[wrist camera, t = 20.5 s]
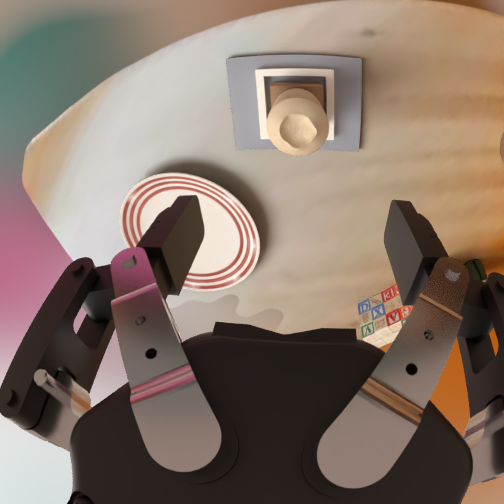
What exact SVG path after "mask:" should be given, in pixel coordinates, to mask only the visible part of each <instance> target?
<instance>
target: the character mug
mask: <svg viewBox="0 0 504 504" xmlns="http://www.w3.org/2000/svg"><path fill="white" fill-rule="evenodd" d="M475 262H476V264H473V262H472V261H470V262H468V263H467V264H466V265H465V267H466V269H467V270H468V272H469V275H470V278H473V279H476V280H479V281H483V282H485V281H486V279H487V275H486V272H485V269H484V267H483V265H482V263H481V262H480V260H475Z"/></svg>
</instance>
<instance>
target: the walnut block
mask: <svg viewBox="0 0 504 504" xmlns="http://www.w3.org/2000/svg"><path fill="white" fill-rule="evenodd" d="M294 88H299V89H304V90H307V91H309V92H310V93H312V94H313V95H314V96H315V97H316V98H317V99H318V101H319V102H320V104H321V106H322V108H323V86H322V85H321V84H320V83H319V82H273V83H272V84H271V85H270V95H271V109H272V107H273V105H274V103H275V101H276V99H277V98H278V96H279V95H280V94H281V93H283V92H284V91H286V90H289V89H294Z"/></svg>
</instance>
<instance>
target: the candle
mask: <svg viewBox="0 0 504 504" xmlns="http://www.w3.org/2000/svg"><path fill="white" fill-rule="evenodd" d="M266 128H267V133H268V136H269V138H270V140H271V142H272V143H273V144H274V145H275V146H276V147H277V148H278V149H279V150H281V151H283V152H285V153H287V154H290V155H296V156H302V155H308V154H311V153H313V152H315V151H317V150H318V149H319V148H320V147H321V146H322V145H323V144H324V143H325V141H326V139H327V137H328V134H329V121H328V118H327V116H326V114H325V112H324V110H323V108H322V106H321V104H320V102H319V101H318V99H317V98H316V97H315V96H314V95H313V94H312V93H310V92H309V91H307V90H304V89H299V88H294V89H289V90H286V91H284V92H283V93H281V94H280V95H279V96H278V98H277V99H276V101H275V103H274V105H273V107H272V109H271V111H270V113H269V115H268V118H267V122H266Z"/></svg>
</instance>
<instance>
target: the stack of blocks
mask: <svg viewBox="0 0 504 504" xmlns="http://www.w3.org/2000/svg"><path fill="white" fill-rule="evenodd" d="M412 309H413V306H403V305H402V301H401V297H400V294H399V290H398V287H397V284H395V285H394V286H392V287H390V288H389V289H387V290H385V291H383V292H382V293H379V294H377V295H375V296H373V297H371V298H370V299H367V300H366V301H364V302H362V303H360V304H358V310H359V319H360V327H361V333H362V339H363V340H364V341H366V342H368V343H370V344H372V345H374V346H376V347H378V348H379V347H381V346H383V345H385V344H388V343H390V342H393V341H394V340H395V338H396V336H397V335H398V333H399V331H400V330H401V328H402V326H403V325H404V323H405V321H406V319H407V318H408V316H409V314H410V312H411V310H412Z"/></svg>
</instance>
